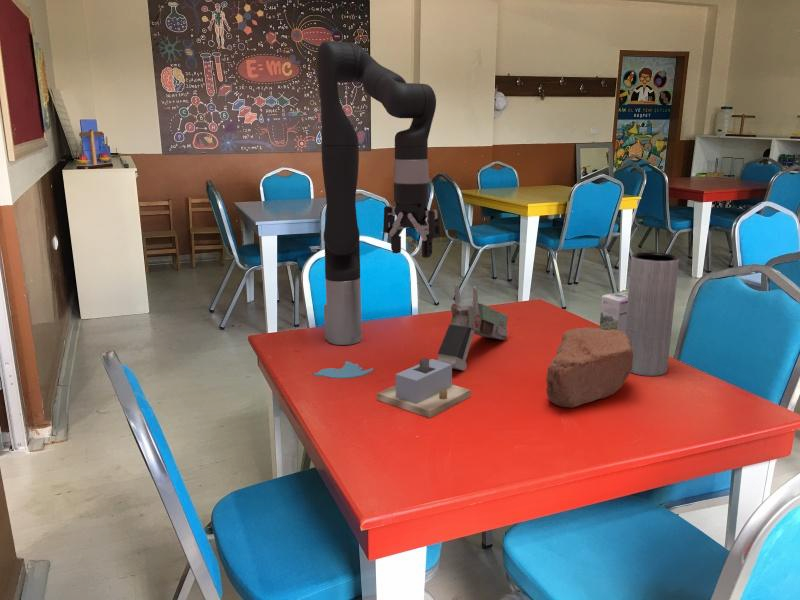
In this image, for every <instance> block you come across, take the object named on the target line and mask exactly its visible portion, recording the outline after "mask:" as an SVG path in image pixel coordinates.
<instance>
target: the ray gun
mask: <svg viewBox="0 0 800 600" xmlns="http://www.w3.org/2000/svg"><path fill="white" fill-rule="evenodd" d="M460 293H461V291H460V284H459V283H457V284H456V285H455V287H454V303H452V304H451V306H450V310H451V311H450V312H451V321H450V324H448V327H447V330H446V331H445V335H444V337H443V339H442V342H441V344H440V347H439V350H438V351H437V355H438V358H437V361H441V362H445V363H448V364H452V370H459V371H466V370H467V367H468V365H467V362H466V361H467V358H468V354H469V350H470V348H471V344H472V340H473V336H474V335H477V336H479V337H483V338H487V339H492V340H493V339H494V340H500V341H505V339H507V335H508V329H507V326H508V325H507V324H508V321H509V315H507V314H505V313H503V312H501V311H498V310H496V309H494V308H492V307H490V306H487V305H486V304H484V303H479V300H478V299H479V295H478V288H477V285H474V286H473V287H472V301H463V300H462V301H461V295H460Z"/></svg>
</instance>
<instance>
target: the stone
mask: <svg viewBox="0 0 800 600" xmlns="http://www.w3.org/2000/svg"><path fill="white" fill-rule="evenodd" d="M632 362H633V351H632V347H631V342H630V339H629V337H628V336H627V335H626V334H625V333H623V332H621V331H620V330H616V329H610V330H603V329H600V327H591V326H590V327H589V326H586V327H585V326H584V327H576V328H575V327H574V328H573V329H568V330H565V331H564V332H563V335H562V337H561V342H560V343H559V345H558V347H557V351H556V356H554V358H552V360H551V362H550V364H549V366H548V367H547V372H546V378H545V379H546V396H547V399H548V400H549V401H550V402H551V403H553V404H554V405H556V406H559V407H563V408H571V409H573V408H575V407H579V406H581V405H584V404H587V403H591V402H594V401H596V400H601V399H605V398H607V397H610V396H612V395H614V394H615V393H616V392H617V391H619V390H620V389H621V388H622V387H623V385H624V384H625V382H626V381H627V378H628V377H629V376H630V375H631V370H632Z"/></svg>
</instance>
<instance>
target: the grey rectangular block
mask: <svg viewBox="0 0 800 600" xmlns="http://www.w3.org/2000/svg"><path fill="white" fill-rule="evenodd" d="M419 367H420V363H419V364H416V365H414V366H412V367H409V368H407V369H405V370H402V371H400V372H397V373H395V385H396V397H397V398H400V399H403V400H406V401H409V402H412V403H415V404H417V403H419V402H421V401H423V400H425V399H427V398H429V397H431V396H433V395H435V394H437V393H439V390H442V389H445V390H446V389H448V388H450V387H452V385H453V383H452V381H453V369H452V364H448V363H445V362H441V361H438V359H433V358H431V359H429V372H428V373H422V372H419Z"/></svg>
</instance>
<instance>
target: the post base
mask: <svg viewBox="0 0 800 600" xmlns="http://www.w3.org/2000/svg"><path fill="white" fill-rule="evenodd" d="M429 360H430V359H429V358H421V359H419V364H420V367H419V372H422V373H428V372H429ZM471 391H472V390H471V389H469V388H466V387H461V386H458V385H455V384H452V387H450V388H448V389H446V390H445V389H442V390H439V393H437V394H435V395H433V396H431V397H429V398H427V399H425V400H423V401H421V402H419V403H417V404H415V403H412V402H409V401H406V400H403V399H400V398H397V397H396V384H395V385H392V386H390V387H388V388H386V389H384V390H381V391H379V392H377V394H376V400H377V401H380V402H382V403H386V404H388V405H391V406H394V407H397V408H398V409H399V408H400V409H403V410H405V411H409V412H411V413H413V414H417V415H420V416H423V417H425V418H428V419H431V418H432V417H436V416H437V415H438V414H441V413H442V412H445V411H447V410H448V409H450V408H451V407H453V406H456V405H457V404H460V403H461V402H463V401H465V400H467V399H469V398H470V397H471V394H472V393H471Z"/></svg>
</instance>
